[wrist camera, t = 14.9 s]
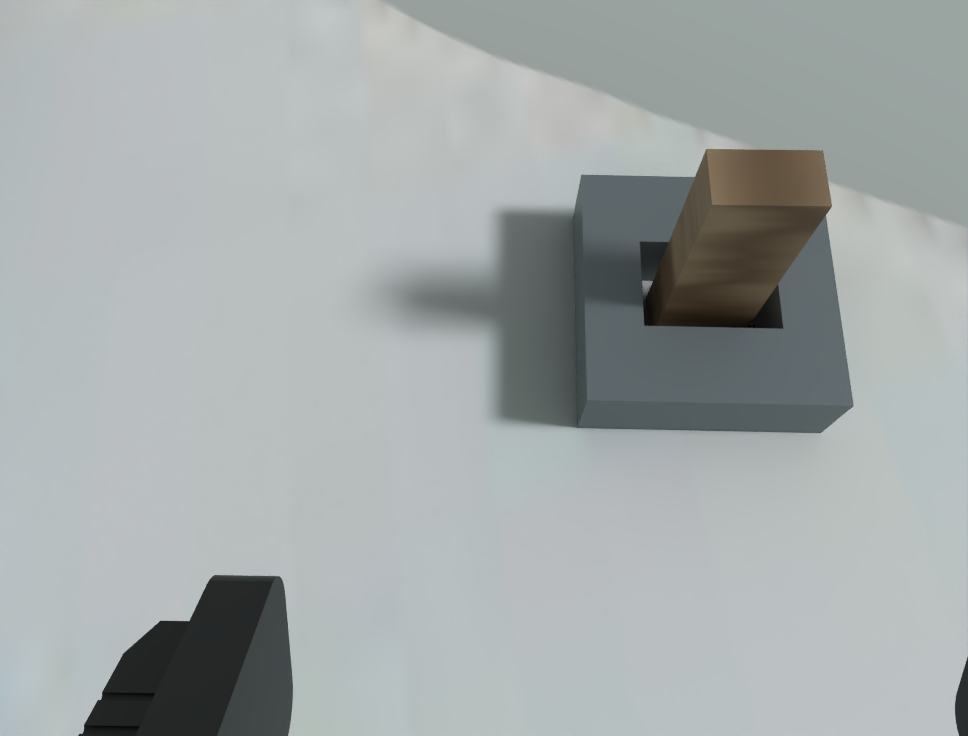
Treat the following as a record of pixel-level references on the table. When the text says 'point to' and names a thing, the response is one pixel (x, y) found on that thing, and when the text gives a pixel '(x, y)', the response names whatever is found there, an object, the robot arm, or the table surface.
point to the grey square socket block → (696, 329)
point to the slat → (737, 236)
